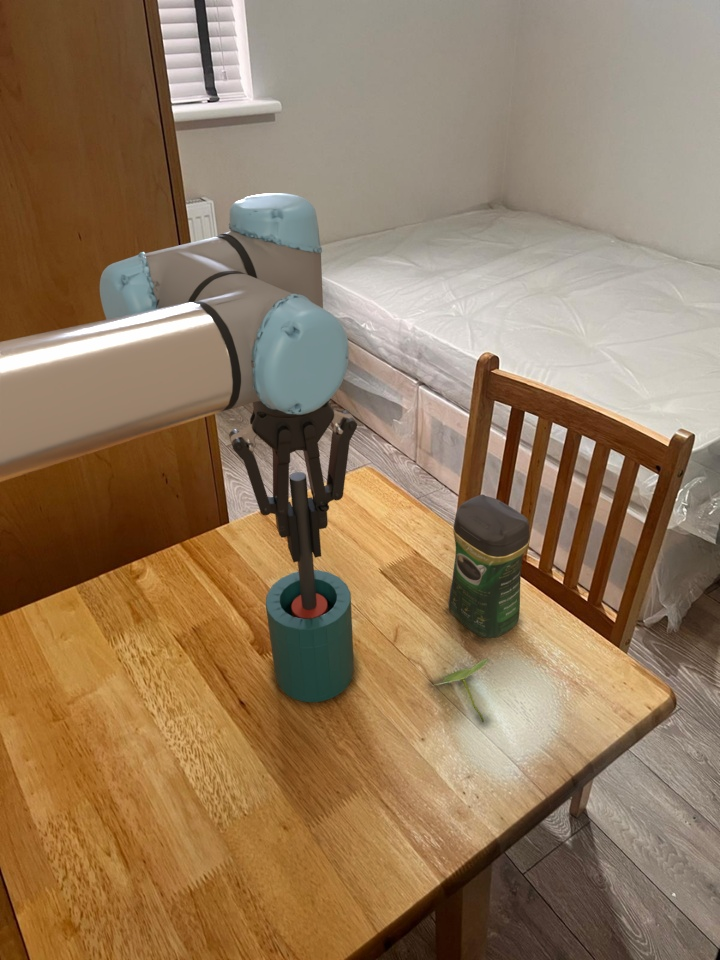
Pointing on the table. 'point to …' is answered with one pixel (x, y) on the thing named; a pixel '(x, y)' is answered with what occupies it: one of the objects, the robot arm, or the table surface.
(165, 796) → the table surface
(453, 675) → the seedling
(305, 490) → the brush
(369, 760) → the table surface
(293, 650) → the cup
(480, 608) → the coffee jar
